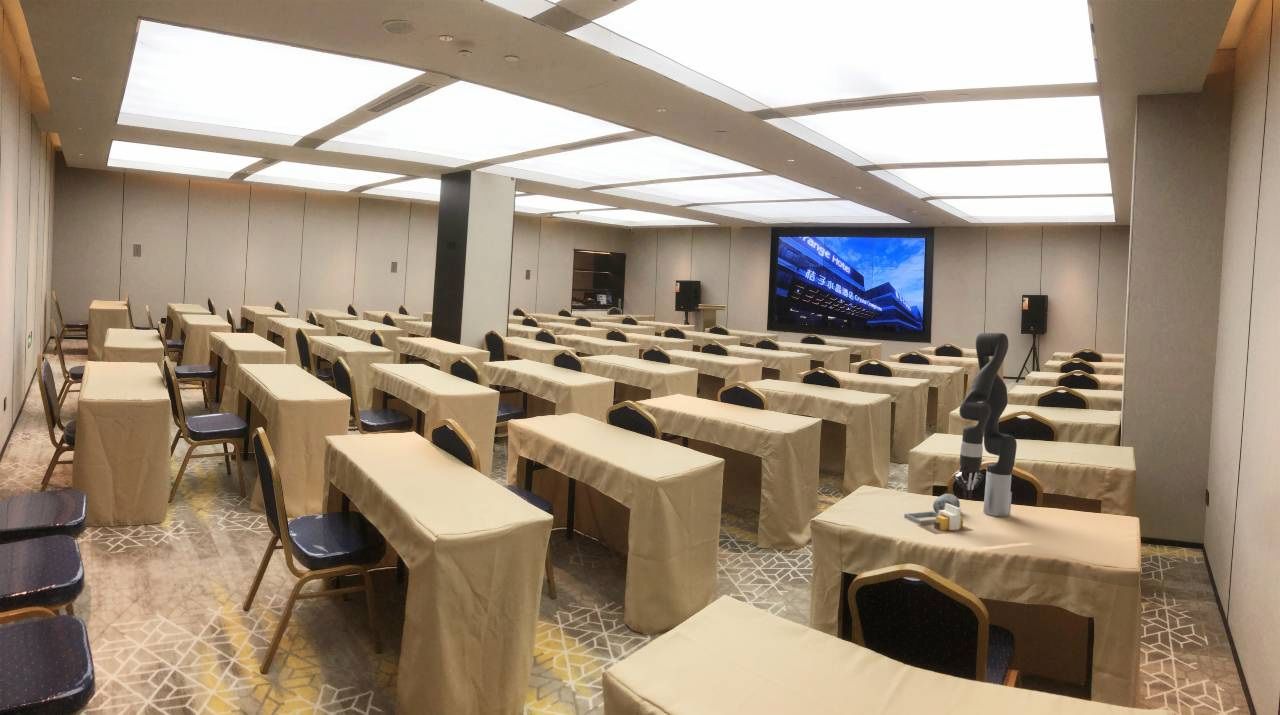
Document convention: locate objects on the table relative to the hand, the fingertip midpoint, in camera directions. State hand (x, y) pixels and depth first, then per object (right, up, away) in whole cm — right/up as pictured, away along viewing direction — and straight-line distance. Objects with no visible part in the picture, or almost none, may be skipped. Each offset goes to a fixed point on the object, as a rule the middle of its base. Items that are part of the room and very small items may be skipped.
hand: (967, 498), depth 275 cm
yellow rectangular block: (-8, -10, -2) cm, 13 cm away
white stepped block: (-8, -10, -2) cm, 13 cm away
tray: (-13, -10, +7) cm, 18 cm away
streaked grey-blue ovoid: (-1, -10, +18) cm, 20 cm away
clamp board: (-9, -11, -2) cm, 15 cm away
